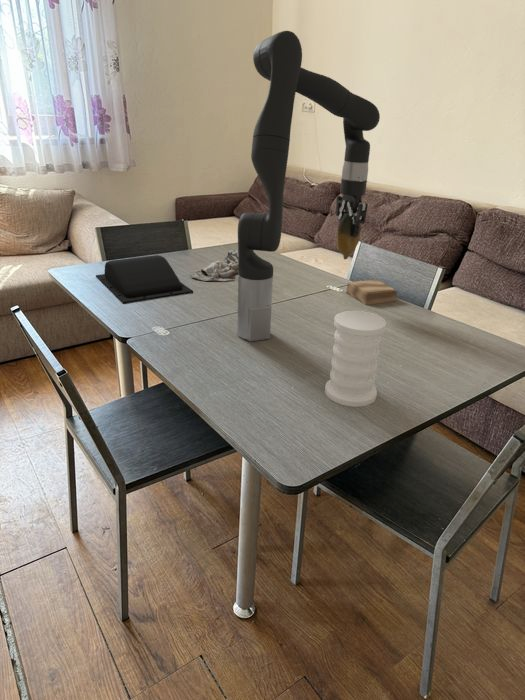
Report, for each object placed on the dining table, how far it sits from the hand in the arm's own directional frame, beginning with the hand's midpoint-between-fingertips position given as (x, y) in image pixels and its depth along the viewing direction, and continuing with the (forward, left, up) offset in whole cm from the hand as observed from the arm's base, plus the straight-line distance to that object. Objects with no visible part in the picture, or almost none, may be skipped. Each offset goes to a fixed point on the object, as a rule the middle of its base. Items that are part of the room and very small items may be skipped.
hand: (347, 233), depth 159 cm
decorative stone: (0, 0, -8) cm, 8 cm away
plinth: (+2, -13, -23) cm, 27 cm away
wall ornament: (+41, +25, -24) cm, 53 cm away
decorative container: (-52, +28, -23) cm, 63 cm away
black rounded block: (+36, +58, -24) cm, 72 cm away
